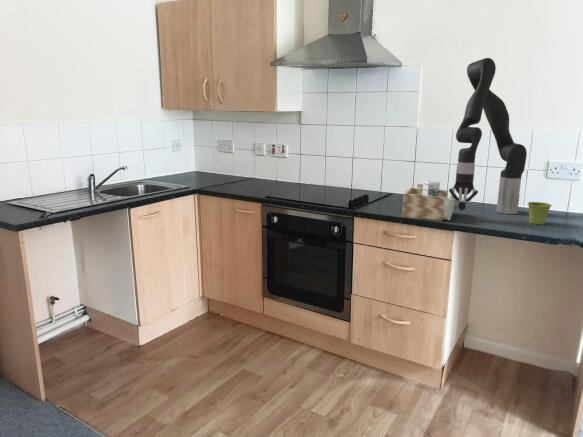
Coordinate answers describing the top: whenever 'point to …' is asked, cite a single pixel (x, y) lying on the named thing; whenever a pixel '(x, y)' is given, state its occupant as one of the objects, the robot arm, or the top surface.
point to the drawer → (448, 207)
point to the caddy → (423, 205)
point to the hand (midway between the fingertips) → (461, 209)
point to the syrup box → (431, 188)
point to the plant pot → (538, 212)
